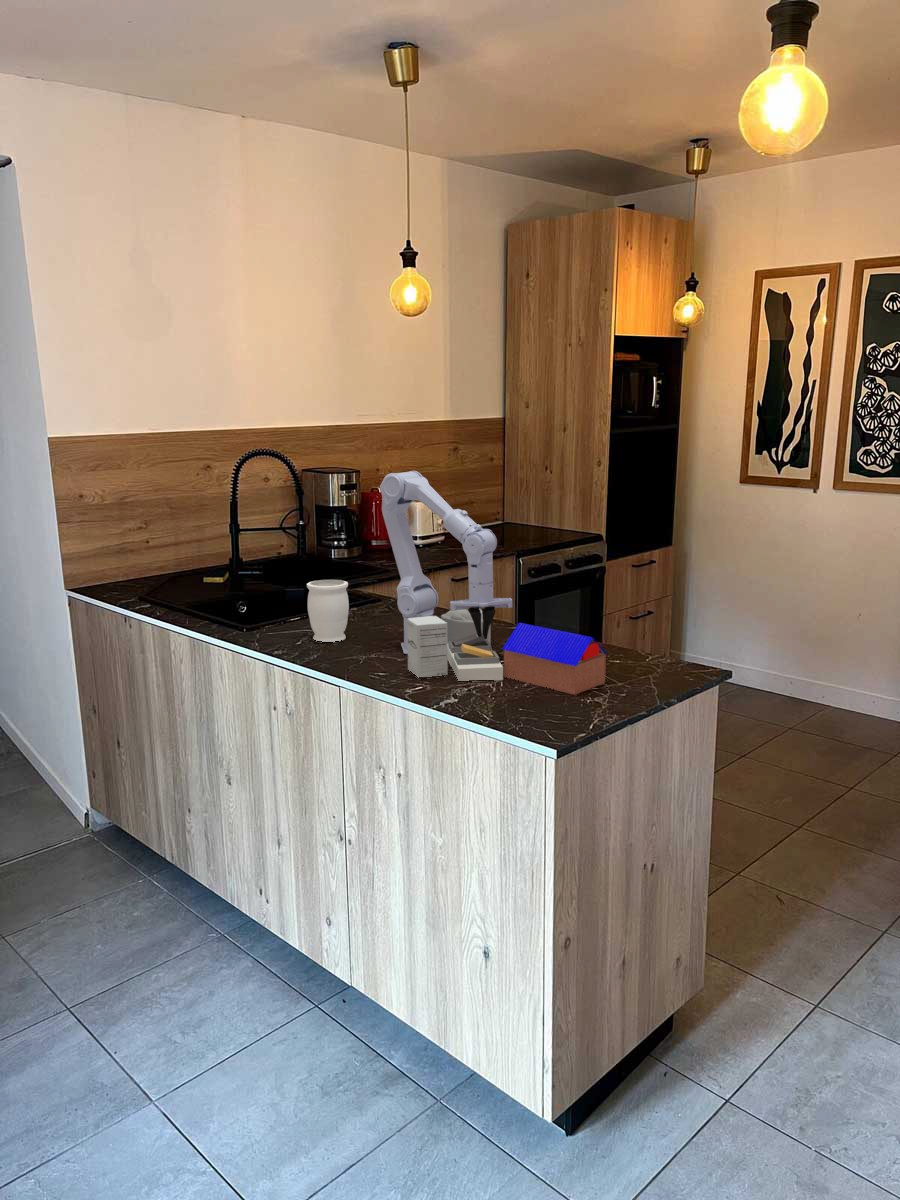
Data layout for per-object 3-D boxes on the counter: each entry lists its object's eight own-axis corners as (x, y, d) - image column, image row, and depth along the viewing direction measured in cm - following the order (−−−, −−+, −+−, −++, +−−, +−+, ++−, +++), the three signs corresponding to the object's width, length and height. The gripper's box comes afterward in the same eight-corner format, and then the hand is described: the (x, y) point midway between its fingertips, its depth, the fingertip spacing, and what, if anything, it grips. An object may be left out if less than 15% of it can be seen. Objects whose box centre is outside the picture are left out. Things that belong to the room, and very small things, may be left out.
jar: (302, 643, 236) (300, 585, 233) (317, 633, 246) (315, 578, 242) (341, 645, 233) (339, 587, 230) (355, 635, 243) (353, 579, 240)
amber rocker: (460, 647, 209) (462, 643, 209) (489, 655, 210) (490, 651, 210) (463, 651, 206) (464, 647, 205) (492, 659, 207) (493, 655, 207)
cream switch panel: (445, 655, 224) (445, 638, 223) (486, 653, 225) (486, 636, 224) (458, 682, 202) (458, 663, 202) (503, 680, 204) (503, 661, 203)
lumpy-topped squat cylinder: (464, 635, 243) (464, 603, 241) (500, 644, 233) (500, 611, 232) (435, 643, 235) (435, 610, 234) (471, 652, 226) (471, 618, 225)
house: (534, 666, 215) (535, 617, 212) (606, 683, 201) (608, 632, 199) (501, 677, 206) (502, 627, 204) (575, 696, 193) (576, 642, 190)
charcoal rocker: (454, 645, 219) (453, 641, 219) (482, 636, 220) (481, 631, 219) (456, 649, 216) (455, 644, 215) (484, 639, 216) (483, 635, 216)
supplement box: (407, 671, 211) (406, 617, 208) (437, 667, 214) (437, 614, 211) (417, 680, 204) (416, 624, 202) (448, 676, 207) (448, 621, 204)
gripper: (452, 586, 210) (454, 644, 213) (514, 583, 212) (515, 640, 215) (448, 581, 217) (449, 637, 220) (508, 578, 219) (509, 633, 222)
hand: (481, 638), depth 218 cm, fingers closed, pressing on charcoal rocker
